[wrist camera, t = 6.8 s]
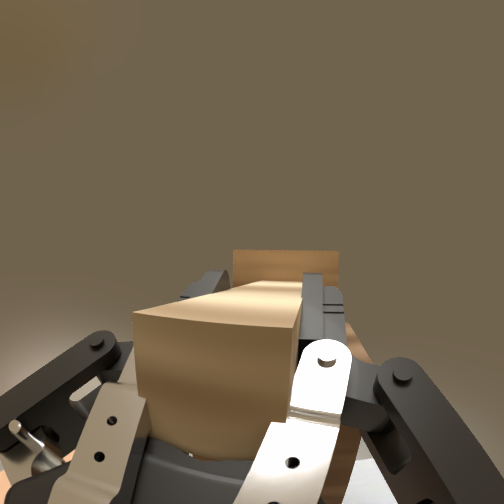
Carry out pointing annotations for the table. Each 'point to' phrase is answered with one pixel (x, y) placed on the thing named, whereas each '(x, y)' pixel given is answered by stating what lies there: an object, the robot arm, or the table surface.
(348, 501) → the table surface
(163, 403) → the mallet
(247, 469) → the robot arm
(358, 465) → the table surface
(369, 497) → the table surface
